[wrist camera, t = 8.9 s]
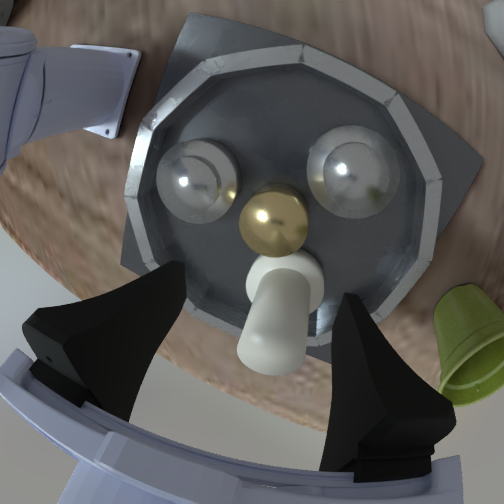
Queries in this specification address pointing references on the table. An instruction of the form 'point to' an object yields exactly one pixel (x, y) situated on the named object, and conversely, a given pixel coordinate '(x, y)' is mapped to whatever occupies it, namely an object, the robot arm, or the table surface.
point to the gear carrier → (287, 175)
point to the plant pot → (469, 345)
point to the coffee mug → (5, 11)
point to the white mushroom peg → (280, 312)
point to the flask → (495, 23)
